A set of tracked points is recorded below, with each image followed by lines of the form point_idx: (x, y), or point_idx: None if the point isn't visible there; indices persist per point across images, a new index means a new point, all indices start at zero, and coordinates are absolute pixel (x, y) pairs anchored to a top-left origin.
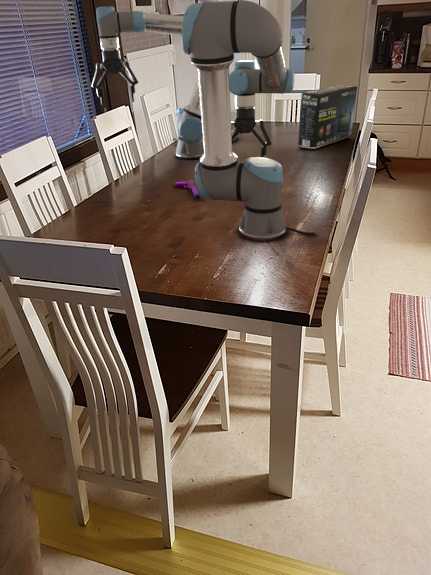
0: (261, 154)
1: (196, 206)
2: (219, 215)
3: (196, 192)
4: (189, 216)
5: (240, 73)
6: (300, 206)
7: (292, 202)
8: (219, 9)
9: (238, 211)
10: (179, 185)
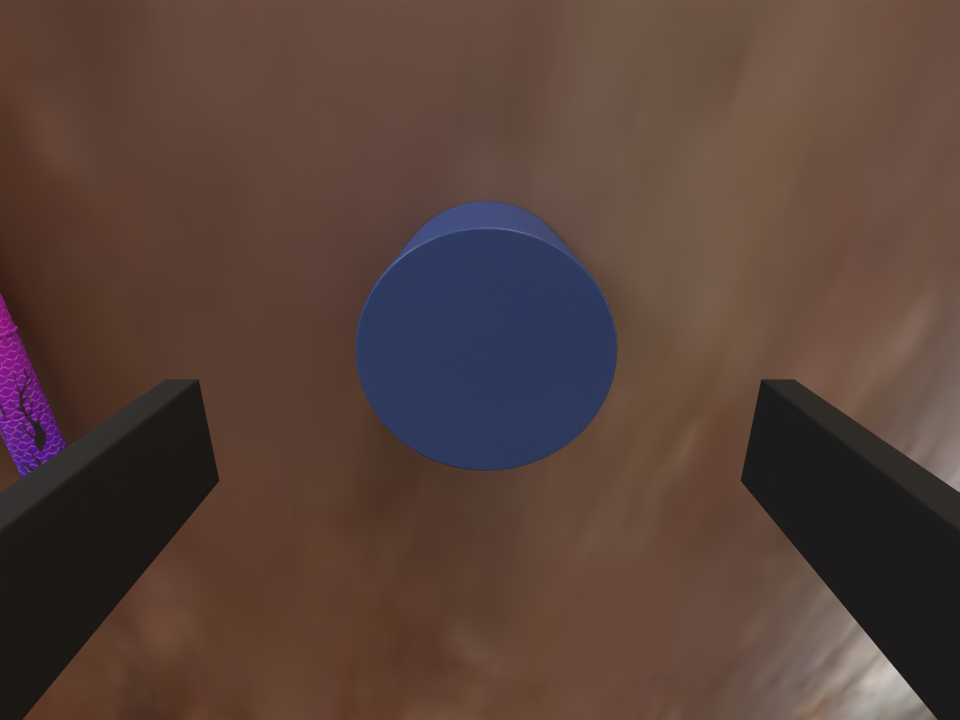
0: (847, 575)
1: None
2: (274, 707)
3: (18, 446)
4: (94, 696)
5: None
6: (789, 669)
7: (771, 610)
8: None
9: (389, 678)
10: None
